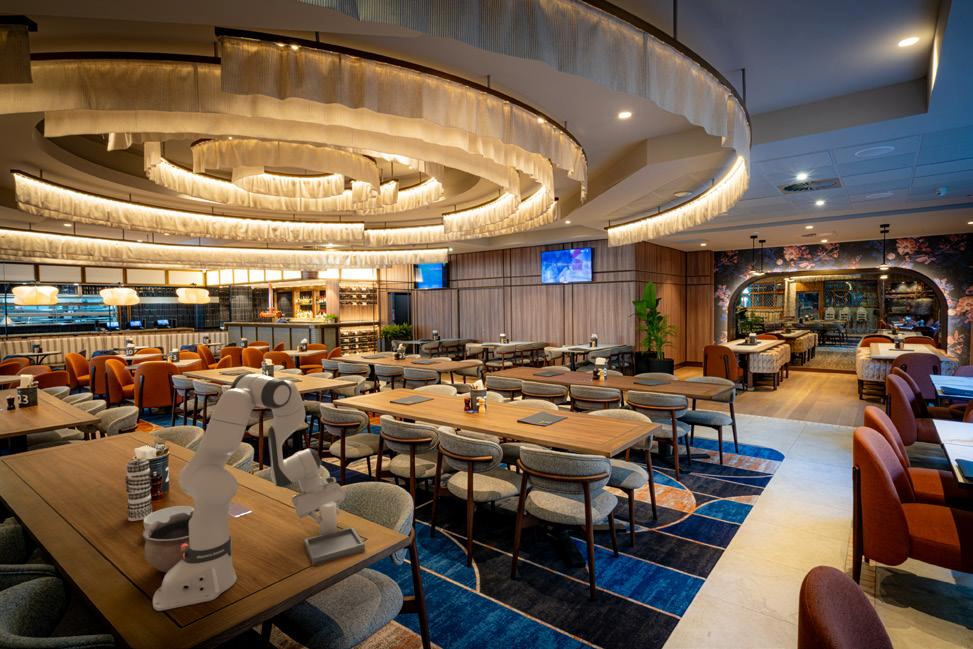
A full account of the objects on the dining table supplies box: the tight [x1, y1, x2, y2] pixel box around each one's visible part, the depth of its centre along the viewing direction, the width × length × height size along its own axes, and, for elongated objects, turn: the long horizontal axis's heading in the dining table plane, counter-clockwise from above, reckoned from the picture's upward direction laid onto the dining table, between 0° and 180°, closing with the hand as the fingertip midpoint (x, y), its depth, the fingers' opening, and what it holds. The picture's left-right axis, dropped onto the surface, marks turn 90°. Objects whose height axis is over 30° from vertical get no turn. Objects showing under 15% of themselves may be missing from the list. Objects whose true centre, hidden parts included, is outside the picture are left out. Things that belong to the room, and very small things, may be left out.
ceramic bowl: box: [142, 511, 193, 573], centre depth 161 cm, size 22×22×15 cm
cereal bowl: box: [143, 505, 194, 530], centre depth 187 cm, size 17×17×7 cm
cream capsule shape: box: [318, 502, 338, 535], centre depth 183 cm, size 6×6×11 cm
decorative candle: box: [125, 457, 153, 522], centre depth 201 cm, size 9×9×25 cm
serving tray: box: [303, 526, 366, 566], centre depth 171 cm, size 18×16×2 cm
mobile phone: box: [229, 502, 253, 519], centre depth 206 cm, size 8×1×15 cm
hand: (329, 518), depth 183 cm, fingers closed on cream capsule shape, 6 cm apart
